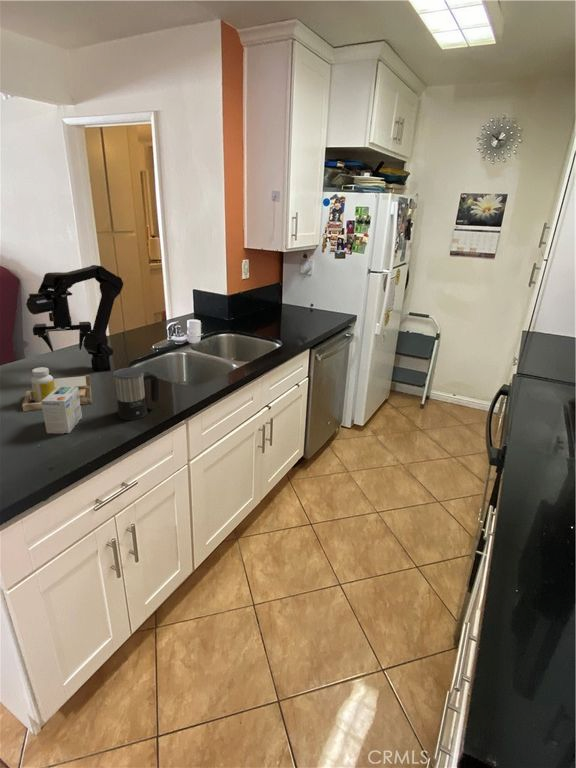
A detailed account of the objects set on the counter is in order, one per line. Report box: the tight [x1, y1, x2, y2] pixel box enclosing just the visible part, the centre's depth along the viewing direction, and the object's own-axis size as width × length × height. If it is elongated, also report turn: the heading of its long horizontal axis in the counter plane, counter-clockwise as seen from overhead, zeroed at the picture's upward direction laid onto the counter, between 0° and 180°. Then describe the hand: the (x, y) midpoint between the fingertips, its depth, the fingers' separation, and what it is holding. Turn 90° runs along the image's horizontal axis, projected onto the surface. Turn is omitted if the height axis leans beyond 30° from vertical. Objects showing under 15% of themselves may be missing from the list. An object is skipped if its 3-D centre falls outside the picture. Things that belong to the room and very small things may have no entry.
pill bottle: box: [30, 366, 55, 403], centre depth 138 cm, size 6×6×12 cm
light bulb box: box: [41, 387, 83, 434], centre depth 124 cm, size 11×7×11 cm, turn 5°
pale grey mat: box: [53, 375, 87, 388], centre depth 154 cm, size 13×13×1 cm
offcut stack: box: [78, 389, 87, 398], centre depth 144 cm, size 7×6×3 cm
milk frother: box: [113, 367, 160, 421], centre depth 137 cm, size 14×16×15 cm
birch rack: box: [22, 374, 92, 412], centre depth 141 cm, size 20×12×6 cm, turn 114°
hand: (66, 350), depth 153 cm, fingers open, 9 cm apart
